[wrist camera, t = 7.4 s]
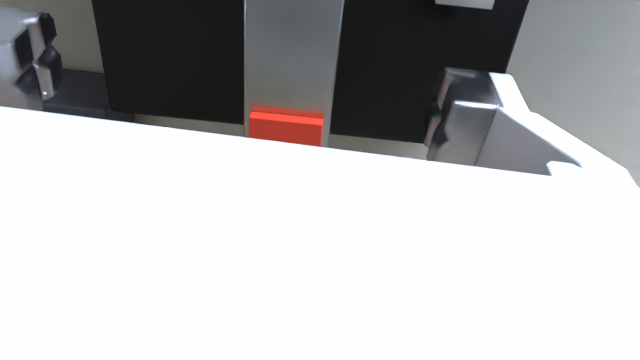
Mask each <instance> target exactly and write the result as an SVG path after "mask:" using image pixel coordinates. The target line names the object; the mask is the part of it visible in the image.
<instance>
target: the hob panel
mask: <svg viewBox="0 0 640 360" xmlns="http://www.w3.org/2000/svg"><path fill="white" fill-rule="evenodd" d="M528 3H529V0H345V3H344V11H343V20H342V28H341V37H340V46H339V54H338V63H337V72H336V80H335V89H334V97H333V106H332V115H331V123H330V132H329V134H336V135H345V136H355V137H365V138H374V139H384V140H393V141H403V142H412V143H422V144H424V141H423V124H424V117H425V113H426V110H427V106H428V103H430V102H431V101H432V100H433V99H434V98H436V95H435V91H434V87H433V85H434V82H435V79H436V75H437V73H438V71H439V69H440V68H441V67H451V68H460V69H469V70H478V71H486V72H489V73H499V74H505V72H506V69H507V66H508V63H509V60H510V57H511V54H512V51H513V48H514V45H515V42H516V39H517V36H518V33H519V30H520V27H521V24H522V21H523V18H524V15H525V12H526V9H527V6H528ZM92 5H93V11H94V17H95V22H96V28H97V34H98V39H99V45H100V51H101V56H102V62H103V68H104V73H105V79H106V84H107V90H108V96H109V101H110V107H111V110H112V111H116V112H126V113H135V114H145V115H154V116H164V117H173V118H183V119H193V120H202V121H212V122H221V123H231V124H240V125H244V0H92Z"/></svg>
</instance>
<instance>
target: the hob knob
mask: <svg viewBox="0 0 640 360" xmlns="http://www.w3.org/2000/svg"><path fill="white" fill-rule="evenodd" d="M344 3H345V0H244V137H246V138H254V139H262V140H270V141H278V142H286V143H294V144H301V145H309V146H317V147H325V148H328V141H329V132H330V123H331V115H332V106H333V97H334V89H335V80H336V72H337V63H338V54H339V46H340V37H341V28H342V20H343V11H344Z"/></svg>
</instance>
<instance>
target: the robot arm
mask: <svg viewBox="0 0 640 360" xmlns="http://www.w3.org/2000/svg"><path fill="white" fill-rule="evenodd" d="M56 36H57V33H56V28H55V24H54V20H53V18H52V17H51V16H50V14H49V13H44V12H38V11H31V10H25V9H18V8H12V7H5V6H0V360H640V187H637V185H636V184H635V182H634V181H633V179H632V178H631V176H630V174H629V173H628V171H627V170H626V169H625V168H623V167H622V166H620V165H618V164H617V163H615V162H614V161H612V160H611V159H609V158H607V157H606V156H604V155H603V154H601V153H599V152H598V151H596V150H595V149H593V148H591V147H590V146H588V145H587V144H585V143H583V142H582V141H580V140H579V139H577V138H575V137H574V136H572V135H571V134H569V133H568V132H566V131H564V130H563V129H561V128H560V127H558V126H556V125H555V124H553V123H552V122H550V121H548V120H547V119H545V118H544V117H542V116H540V115H539V114H537V113H532V112H530V111H529V109H528V107H527V105H526V103H525V101H524V99H523V97H522V95H521V93H520V91H519V89H518V87H517V85H516V83H515V81H514V79H513V77H512V76H511V75H509V74H499V73H489V72H486V71H478V70H469V69H460V68H451V67H441V68H440V69H439V71H438V73H437V75H436V79H435V82H434V85H433V87H434V91H435V95H436V98H434V99H433V100H432V101H431V102H430V103H428V106H427V110H426V113H425V117H424V124H423V141H424V145H425V146H426V147H428V148H429V150H428V153H427V156H426V157H427V160H420V159H412V158H404V157H396V156H388V155H380V154H372V153H364V152H357V151H349V150H341V149H333V148H325V147H317V146H309V145H301V144H294V143H286V142H278V141H270V140H262V139H254V138H246V137H239V136H231V135H223V134H215V133H207V132H199V131H191V130H184V129H176V128H168V127H160V126H152V125H144V124H136V123H129V122H121V121H113V120H105V119H97V118H89V117H81V116H73V115H66V114H58V113H50V112H42V110H43V109H44V104H43V101H44V100H46V99H49V98H51V97H53V96H54V95H55V94H56V92H57V91H58V90H59V87H60V83H61V80H62V61H61V55H60V54H59V53H58V52H57V50H56V49H55V48H54V47H53V46H52V42H53V40H54V39H55V37H56Z"/></svg>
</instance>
